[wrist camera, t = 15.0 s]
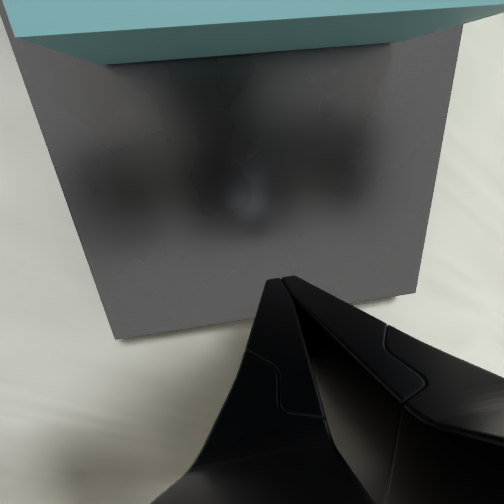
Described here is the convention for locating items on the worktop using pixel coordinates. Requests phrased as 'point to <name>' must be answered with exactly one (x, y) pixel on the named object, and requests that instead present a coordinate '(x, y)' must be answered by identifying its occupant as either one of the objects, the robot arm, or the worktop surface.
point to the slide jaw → (228, 25)
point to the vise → (245, 172)
